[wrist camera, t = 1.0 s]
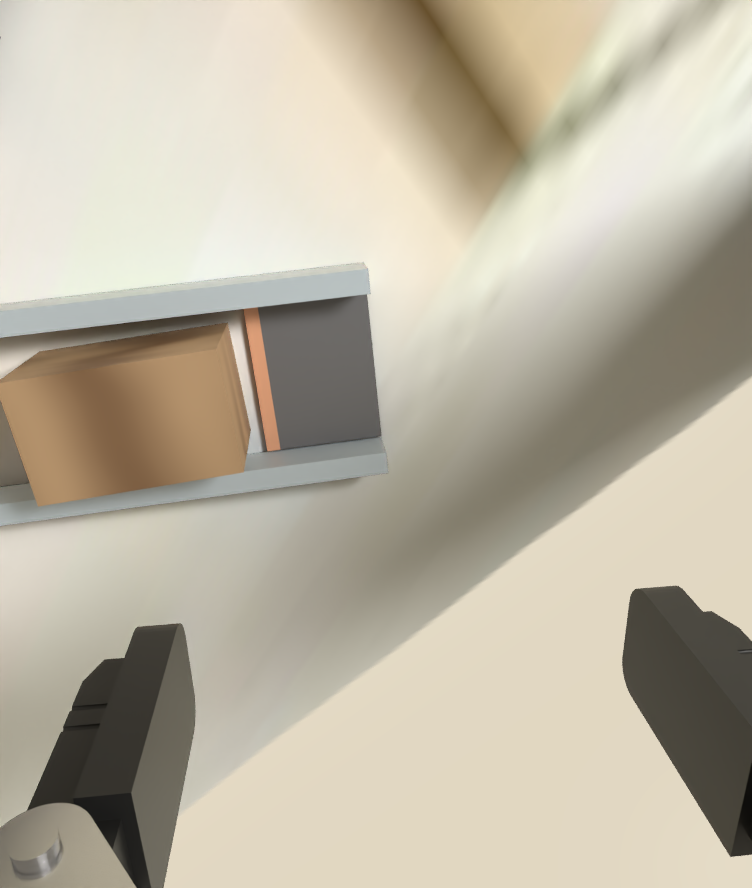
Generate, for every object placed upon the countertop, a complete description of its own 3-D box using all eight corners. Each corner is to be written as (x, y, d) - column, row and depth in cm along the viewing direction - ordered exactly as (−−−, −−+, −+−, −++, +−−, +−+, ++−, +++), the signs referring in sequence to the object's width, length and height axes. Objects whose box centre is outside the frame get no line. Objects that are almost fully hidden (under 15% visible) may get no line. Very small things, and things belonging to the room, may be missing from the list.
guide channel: (363, 262, 30) (367, 268, 28) (382, 456, 33) (388, 473, 31) (-125, 318, 28) (-153, 328, 27) (-53, 514, 32) (-74, 535, 30)
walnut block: (227, 321, 30) (216, 349, 26) (250, 428, 32) (243, 472, 28) (40, 350, 30) (-6, 383, 25) (75, 457, 32) (38, 506, 27)
